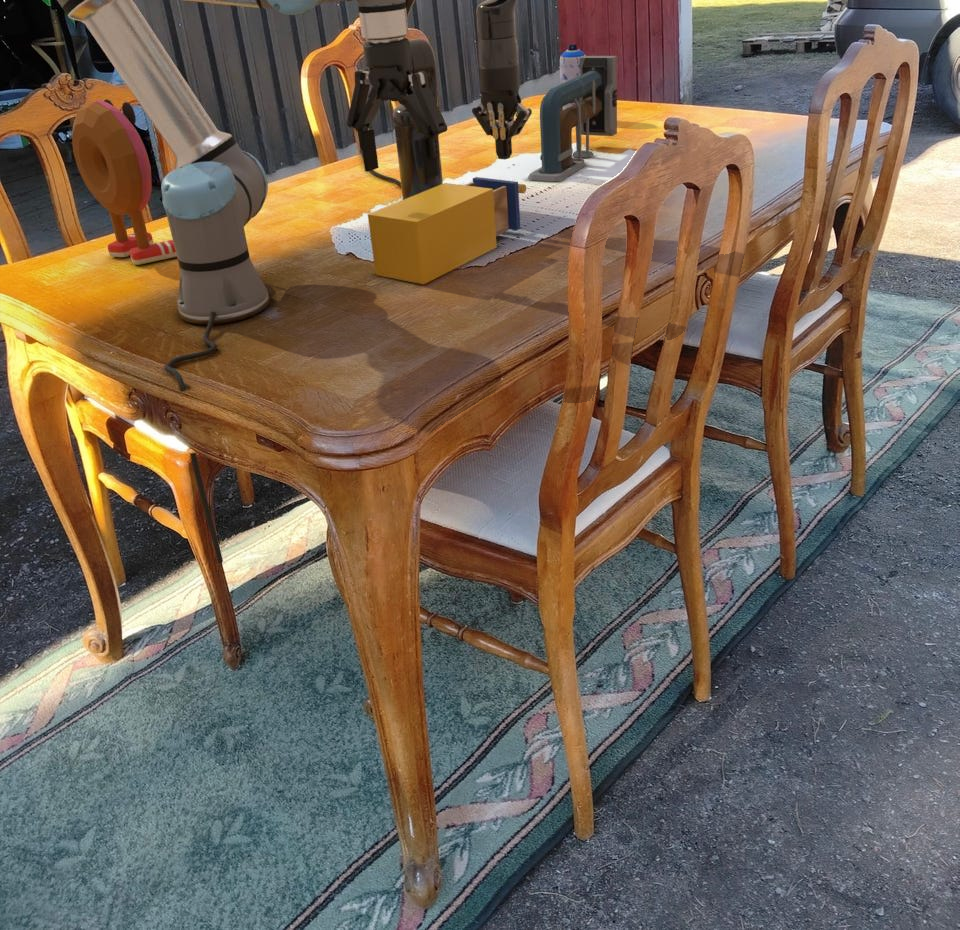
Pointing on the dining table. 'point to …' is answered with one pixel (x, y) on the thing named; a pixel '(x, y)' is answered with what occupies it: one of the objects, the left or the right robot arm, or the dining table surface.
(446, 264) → the yellow rectangular block
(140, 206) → the toy
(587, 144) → the clamp
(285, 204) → the dining table surface
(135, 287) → the dining table surface
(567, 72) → the aerosol can
